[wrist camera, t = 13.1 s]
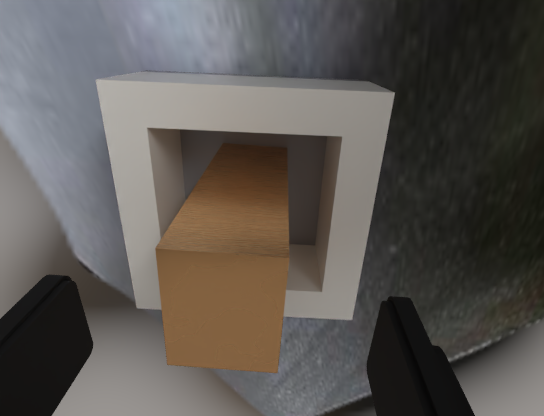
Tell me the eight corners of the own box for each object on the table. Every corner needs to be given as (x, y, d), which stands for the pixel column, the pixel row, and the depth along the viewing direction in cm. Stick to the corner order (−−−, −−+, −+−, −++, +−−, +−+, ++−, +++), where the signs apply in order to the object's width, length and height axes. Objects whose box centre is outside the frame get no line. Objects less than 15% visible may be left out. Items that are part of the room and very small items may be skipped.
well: (365, 79, 20) (394, 92, 14) (337, 262, 25) (352, 320, 20) (146, 70, 20) (95, 79, 15) (167, 253, 26) (136, 308, 20)
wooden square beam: (287, 147, 21) (289, 258, 10) (281, 218, 23) (277, 373, 12) (222, 143, 21) (155, 248, 10) (222, 214, 23) (167, 364, 12)
